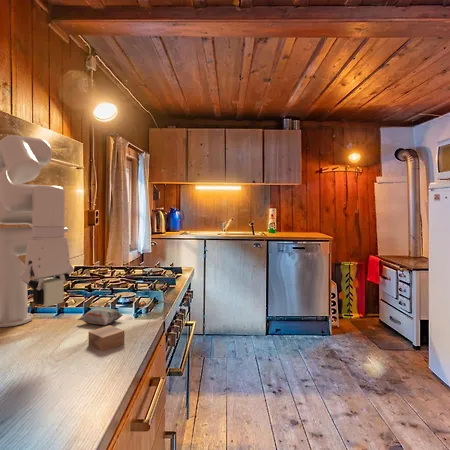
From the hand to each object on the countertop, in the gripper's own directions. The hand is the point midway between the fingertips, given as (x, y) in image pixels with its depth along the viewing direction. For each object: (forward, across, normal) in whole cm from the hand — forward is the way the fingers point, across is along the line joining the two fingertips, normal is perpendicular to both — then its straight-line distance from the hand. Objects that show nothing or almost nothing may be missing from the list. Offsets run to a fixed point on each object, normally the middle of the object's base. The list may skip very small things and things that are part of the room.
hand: (48, 300), depth 91 cm
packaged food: (+15, -23, -6) cm, 28 cm away
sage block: (+1, 0, 0) cm, 1 cm away
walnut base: (+14, -12, +9) cm, 21 cm away
